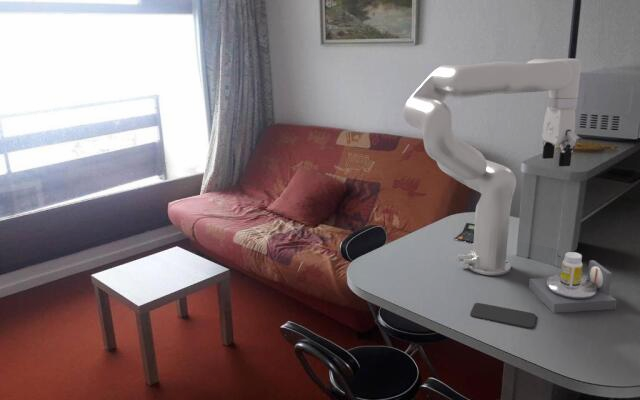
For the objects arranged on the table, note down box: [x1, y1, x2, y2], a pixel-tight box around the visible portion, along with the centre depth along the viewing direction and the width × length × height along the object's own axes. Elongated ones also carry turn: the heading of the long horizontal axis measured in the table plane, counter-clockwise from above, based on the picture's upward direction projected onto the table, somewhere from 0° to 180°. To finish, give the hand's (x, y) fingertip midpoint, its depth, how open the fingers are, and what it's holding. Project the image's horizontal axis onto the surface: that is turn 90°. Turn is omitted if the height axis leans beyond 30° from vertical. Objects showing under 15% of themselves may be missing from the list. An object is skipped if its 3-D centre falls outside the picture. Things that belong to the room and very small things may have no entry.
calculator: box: [454, 222, 475, 244], centre depth 182 cm, size 9×12×3 cm
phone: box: [469, 302, 537, 330], centre depth 132 cm, size 7×1×15 cm
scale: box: [528, 259, 617, 314], centre depth 138 cm, size 16×14×8 cm
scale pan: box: [546, 274, 597, 299], centre depth 139 cm, size 12×12×1 cm
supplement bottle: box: [560, 251, 584, 288], centre depth 137 cm, size 5×5×8 cm
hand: (555, 162), depth 155 cm, fingers open, 9 cm apart
